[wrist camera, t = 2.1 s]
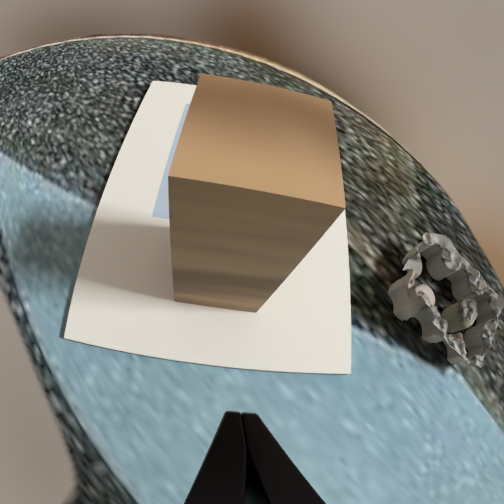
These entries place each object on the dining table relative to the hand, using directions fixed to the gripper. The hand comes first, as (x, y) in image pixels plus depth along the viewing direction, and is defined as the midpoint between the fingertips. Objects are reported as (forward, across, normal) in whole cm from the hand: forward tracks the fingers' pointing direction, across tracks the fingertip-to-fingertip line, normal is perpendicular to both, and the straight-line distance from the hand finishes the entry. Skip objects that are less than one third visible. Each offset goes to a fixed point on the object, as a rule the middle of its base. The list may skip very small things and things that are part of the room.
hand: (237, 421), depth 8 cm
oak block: (+13, 0, +1) cm, 13 cm away
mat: (+18, 0, -3) cm, 18 cm away
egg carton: (+14, -18, +2) cm, 22 cm away
